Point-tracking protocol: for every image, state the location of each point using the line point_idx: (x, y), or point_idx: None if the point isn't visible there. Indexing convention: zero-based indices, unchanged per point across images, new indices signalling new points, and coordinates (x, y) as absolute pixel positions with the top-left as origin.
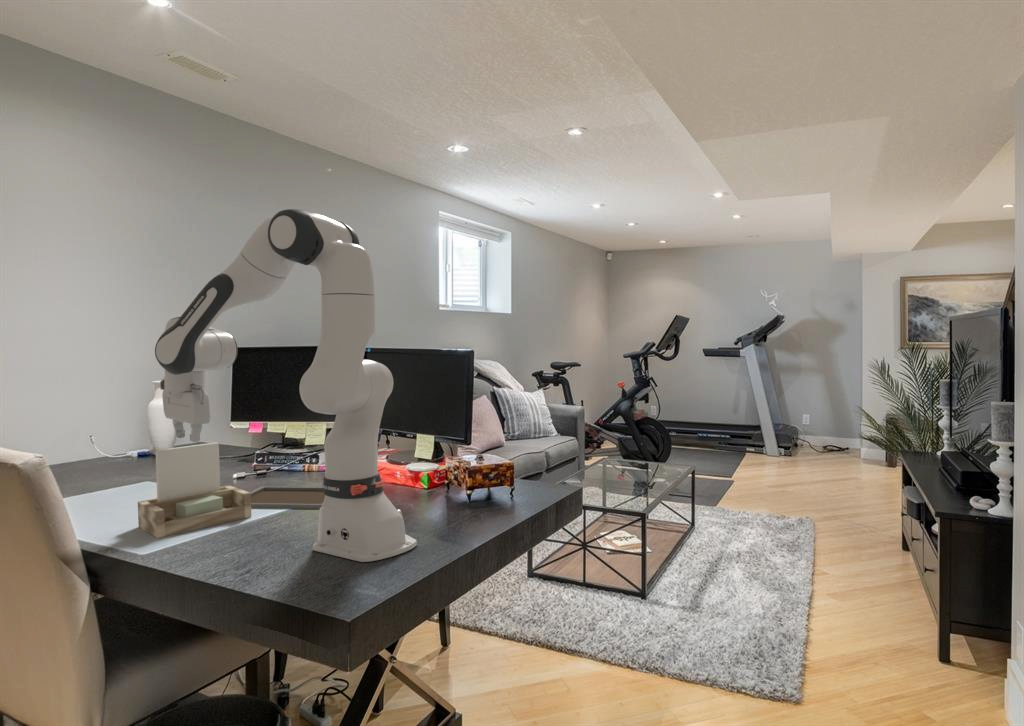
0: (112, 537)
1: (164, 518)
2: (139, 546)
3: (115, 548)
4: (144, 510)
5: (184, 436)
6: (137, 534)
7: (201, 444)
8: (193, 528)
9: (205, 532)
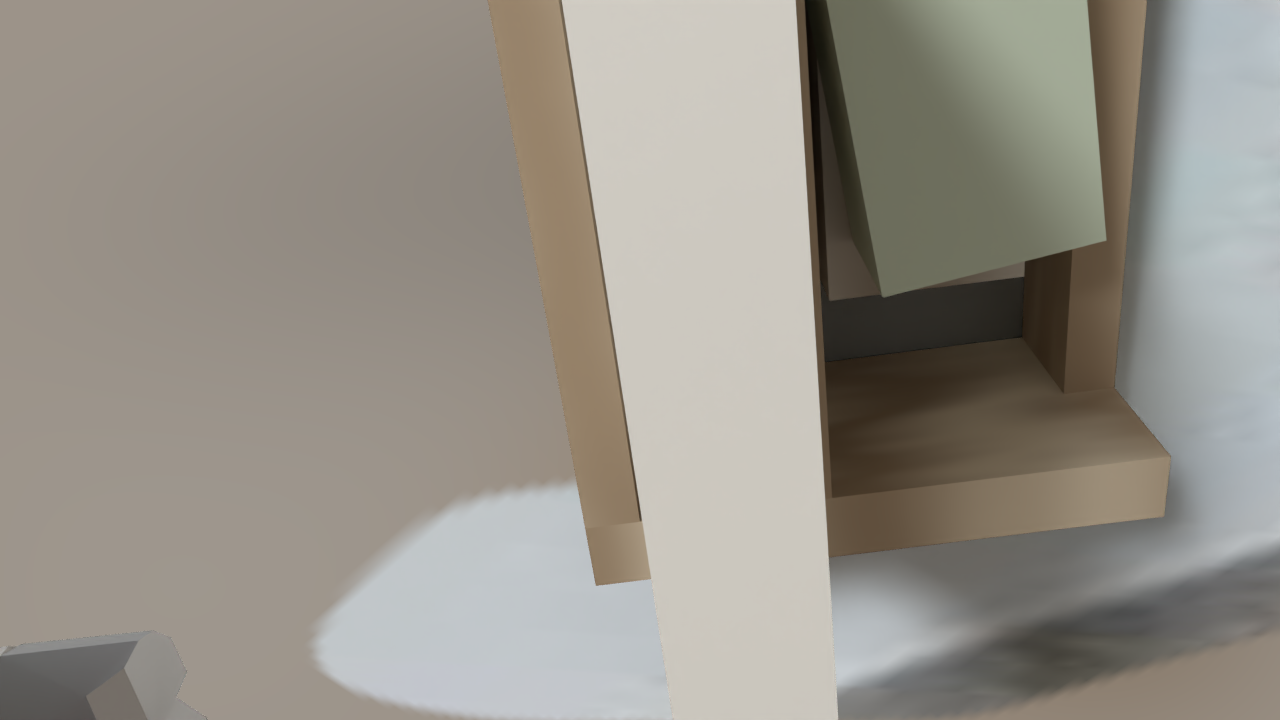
0: None
1: (1130, 410)
2: None
3: (1066, 615)
4: None
5: (156, 641)
6: None
7: (635, 119)
8: None
9: (1259, 36)
